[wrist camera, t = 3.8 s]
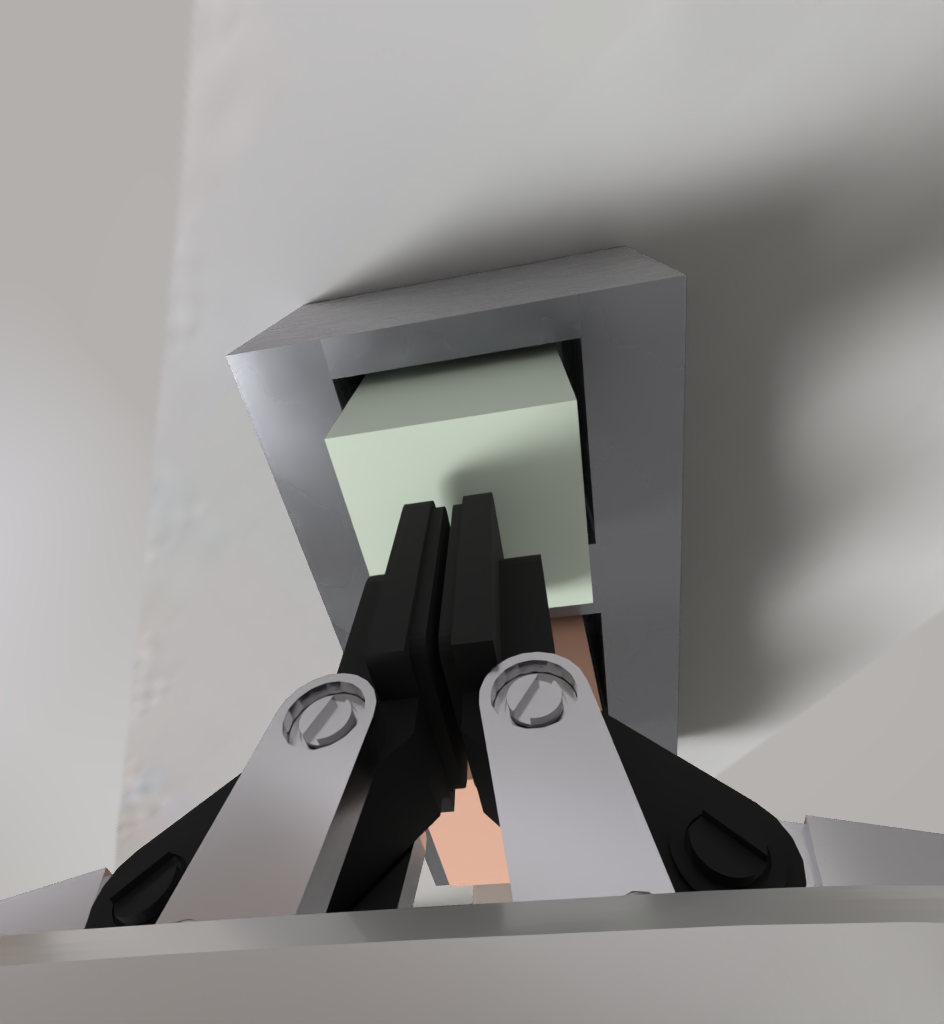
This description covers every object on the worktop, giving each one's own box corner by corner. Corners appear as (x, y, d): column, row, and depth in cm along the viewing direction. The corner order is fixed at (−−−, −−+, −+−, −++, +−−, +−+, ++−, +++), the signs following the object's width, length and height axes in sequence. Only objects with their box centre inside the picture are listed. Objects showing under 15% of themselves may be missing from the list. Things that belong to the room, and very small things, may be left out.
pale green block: (562, 475, 17) (593, 602, 12) (417, 496, 18) (387, 626, 12) (546, 324, 15) (576, 400, 10) (380, 352, 15) (324, 438, 10)
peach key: (587, 694, 20) (621, 876, 15) (460, 707, 20) (450, 886, 15) (577, 594, 17) (614, 767, 12) (434, 611, 18) (412, 784, 13)
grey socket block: (640, 743, 28) (674, 871, 23) (445, 760, 29) (436, 885, 24) (624, 245, 16) (687, 274, 11) (303, 304, 18) (225, 356, 12)
